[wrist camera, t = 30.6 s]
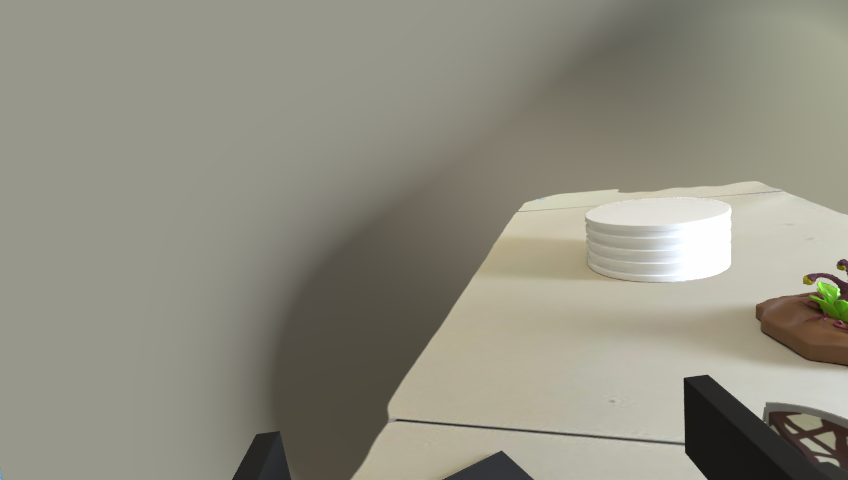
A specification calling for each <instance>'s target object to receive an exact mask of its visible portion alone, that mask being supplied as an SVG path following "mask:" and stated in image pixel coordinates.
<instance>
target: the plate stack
mask: <svg viewBox="0 0 848 480" xmlns="http://www.w3.org/2000/svg"><path fill="white" fill-rule="evenodd" d="M730 215H731V207H730V205H728V204H726V203H724V202H721V201H717V200H711V199H703V198H688V197H664V198H646V199H635V200H627V201H620V202H615V203H610V204H605V205H602V206H598V207H595V208H593V209H591V210H589V211H587V212H586V214H585V221H586V223H587V224H586V233H587V236H586V238H587V244H588V246H587V253H588V265H589V267H590V268H591V269H592V270H594V271H595V272H597V273H599V274H602V275H605V276H608V277H612V278H616V279H622V280H629V281H638V282H678V281H688V280H695V279H701V278H705V277H709V276H713V275H716V274H718V273H721V272H723V271H724V270H726V269H727V268H728V267H729V266H730V264H731V256H730V252H731V244H730V240H731V231H730V230H729V229H730V228H731V219H730V218H729V217H730Z"/></svg>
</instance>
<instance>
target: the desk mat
mask: <svg viewBox="0 0 848 480" xmlns="http://www.w3.org/2000/svg"><path fill="white" fill-rule="evenodd" d="M443 480H534V479H532V478H531V477H530V476H529V475H528V474H527V473H526V472H525V471H524V470H523V469H521V468H520V467H519V466H518V465H517V464H516V463H515V462H514V461H513V460H512V459H510V458H509V457H508V456H507V455H506V454H505V453H504V452H503V451H500V452H498V453H496V454H494V455H492V456H490V457H488V458H486V459H484V460H482V461H480V462H478V463H476V464H473V465H471V466H469V467H467V468H465V469H463V470H461V471H459V472H457V473H455V474H453V475H451V476H449V477H447V478H445V479H443Z"/></svg>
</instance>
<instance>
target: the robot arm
mask: <svg viewBox="0 0 848 480" xmlns="http://www.w3.org/2000/svg"><path fill="white" fill-rule="evenodd" d="M684 416H685V453H686V454H687V455H688V456H689V458H690V459H691V460H692V461H693V463H694V464H695V465H696V466H697V467H698V469H699V470H700V471H701V472H702V473H703V475H704V476H705V477H706V478H707V479H708V480H848V471H846V470H844V469H842V468H840V467H838V466H837V465H835V464H833V463H831V462H829V461H827V462H819V463H812V462H810V461H809V460H808V459H807V458H806V457H805V456H803V455H802V454H801V453H800V452H799V451H797V450H796V449H795V448H794V447H793V446H792V445H790V444H789V443H788V442H787V441H786V440H784V439H783V438H782V437H781V436H780V435H779V434H777V433H776V432H775V431H774V430H773V429H771V428H770V427H769V426H768V425H767V424H766V423H764V422H763V421H762V420H761V419H760V418H758V417H757V416H756V415H755V414H754V413H752V412H751V411H750V410H749V409H748V408H747V407H745V406H744V405H743V404H742V403H741V402H739V401H738V400H737V399H736V398H735V397H734V396H732V395H731V394H730V393H729V392H728V391H726V390H725V389H724V388H723V387H722V386H721V385H719V384H718V383H717V382H716V381H715V380H713V379H712V378H711V377H710V376H709V375H702V376H694V377H687V378H684ZM0 480H2V477H1V470H0ZM232 480H291V478H290V473H289V469H288V464H287V460H286V456H285V452H284V447H283V443H282V439H281V435H280V431H278V432H270V433H263V434H257V435H256V436H255V438H254V440H253V442H252V444H251V445H250V447H249V449H248V451H247V453H246V455H245V457H244V459H243V460H242V462H241V464H240V466H239V468H238V470H237V472H236V473H235V475H234V477H233V479H232Z"/></svg>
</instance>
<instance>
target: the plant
mask: <svg viewBox="0 0 848 480" xmlns="http://www.w3.org/2000/svg"><path fill="white" fill-rule="evenodd" d="M837 268H838V269H839V270H842V271H843V270H845V271H846V272H847V275H848V261H847V260H845V259H843V260H840V261H838V263H837ZM819 277H824V278H828V279H830V280H832V281H833V282H834V283H836V284H837V285H838V289H837V288H835V287H833V286H831V285H829V284H826V283H822V282H818V283H817V285H818V287H819V288H820V289H817V291H818V292H811V293H805V294H799V295H793V296H782V297H779V298H773V299H769V300H766V301H765V302H763V303H760V304H757V305H756V318H757V319H759V320H761V330H762V331H763V332H764V333H766V334H768V335H770V336H771V337H773V338H775V339H776V340H778V341H780V342H781V343H783V344H785V345H787V346H788V347H790V348H791V349H792V350H794V351H795V352H797V353H798V354H800V355H802V356H803V357H805V358H807V359H809V360H814V361H822V362H831V363H838V364H844V365H848V283H846V282H843V281H841V280H840V279H838V278H837V277H835V276H833V275H830V274H825V273H817V274H809V275H806V276H804V278H803V282H804V283H803V284H807V285H812V284H813V283H814V282H815V281H816V279H817V278H819Z"/></svg>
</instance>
